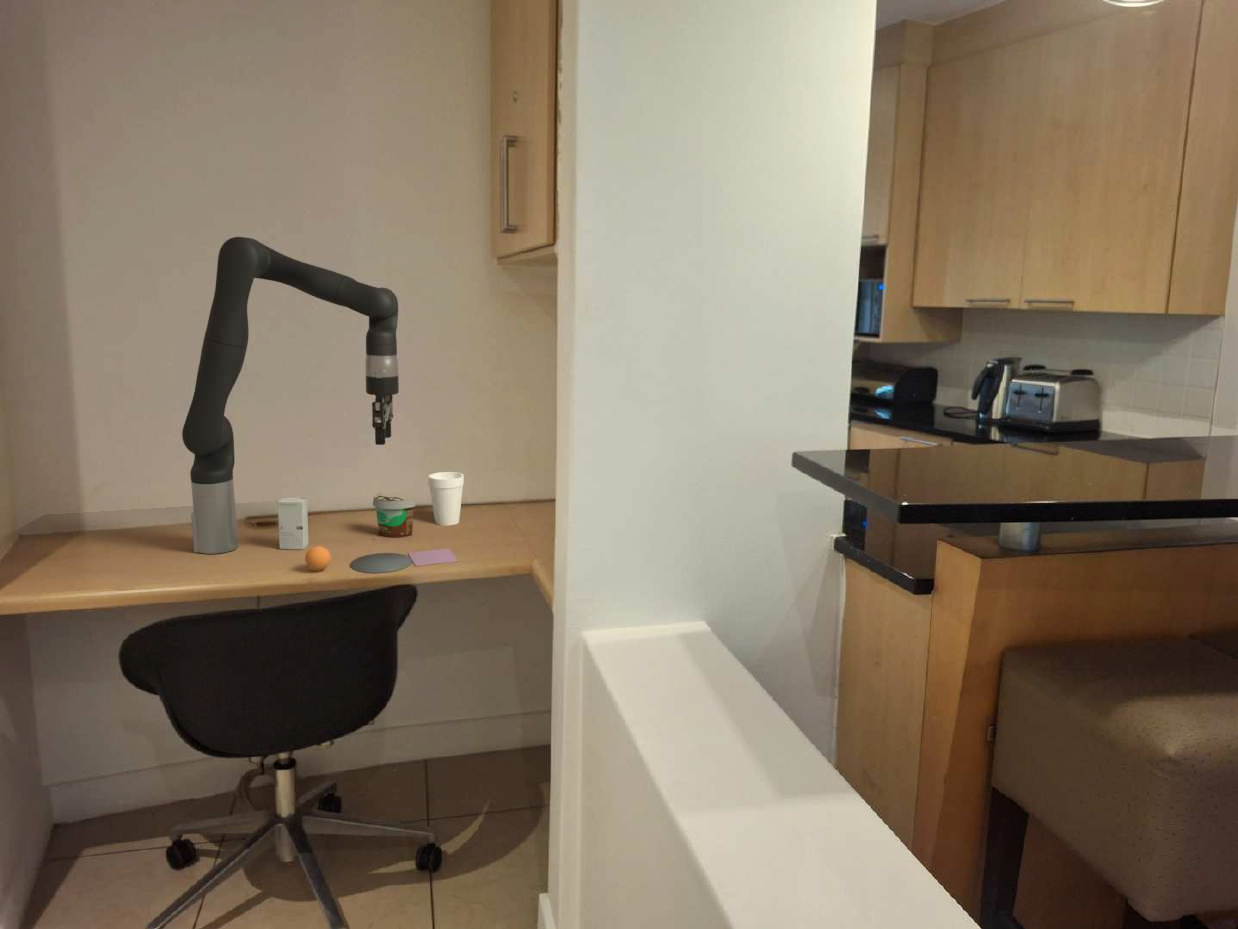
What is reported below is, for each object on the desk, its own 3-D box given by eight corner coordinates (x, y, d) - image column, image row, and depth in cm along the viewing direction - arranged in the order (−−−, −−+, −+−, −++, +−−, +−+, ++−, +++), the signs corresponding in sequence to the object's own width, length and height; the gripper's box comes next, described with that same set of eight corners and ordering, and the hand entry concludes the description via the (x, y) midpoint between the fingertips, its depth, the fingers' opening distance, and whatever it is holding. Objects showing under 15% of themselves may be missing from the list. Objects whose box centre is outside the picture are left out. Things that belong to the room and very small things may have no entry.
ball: (303, 574, 199) (302, 550, 198) (308, 566, 205) (307, 543, 203) (329, 573, 200) (327, 550, 199) (333, 565, 205) (332, 542, 204)
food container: (363, 534, 229) (361, 497, 227) (380, 528, 235) (378, 492, 233) (400, 542, 224) (399, 503, 222) (416, 535, 229) (415, 498, 227)
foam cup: (431, 517, 246) (430, 471, 243) (465, 517, 247) (464, 471, 244) (428, 527, 237) (426, 480, 234) (463, 526, 238) (462, 479, 235)
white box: (279, 549, 216) (275, 501, 214) (285, 544, 221) (281, 496, 218) (304, 549, 216) (301, 501, 214) (310, 544, 221) (307, 497, 218)
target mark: (354, 576, 199) (354, 575, 199) (347, 557, 211) (347, 556, 211) (417, 569, 204) (417, 568, 204) (406, 551, 217) (406, 550, 217)
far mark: (415, 566, 206) (415, 565, 206) (408, 553, 215) (408, 552, 215) (458, 561, 210) (458, 560, 210) (449, 549, 219) (449, 548, 219)
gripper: (371, 369, 216) (372, 435, 220) (359, 376, 202) (361, 446, 206) (402, 370, 217) (403, 435, 221) (393, 377, 203) (394, 447, 207)
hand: (383, 440), depth 213 cm, fingers open, 8 cm apart
